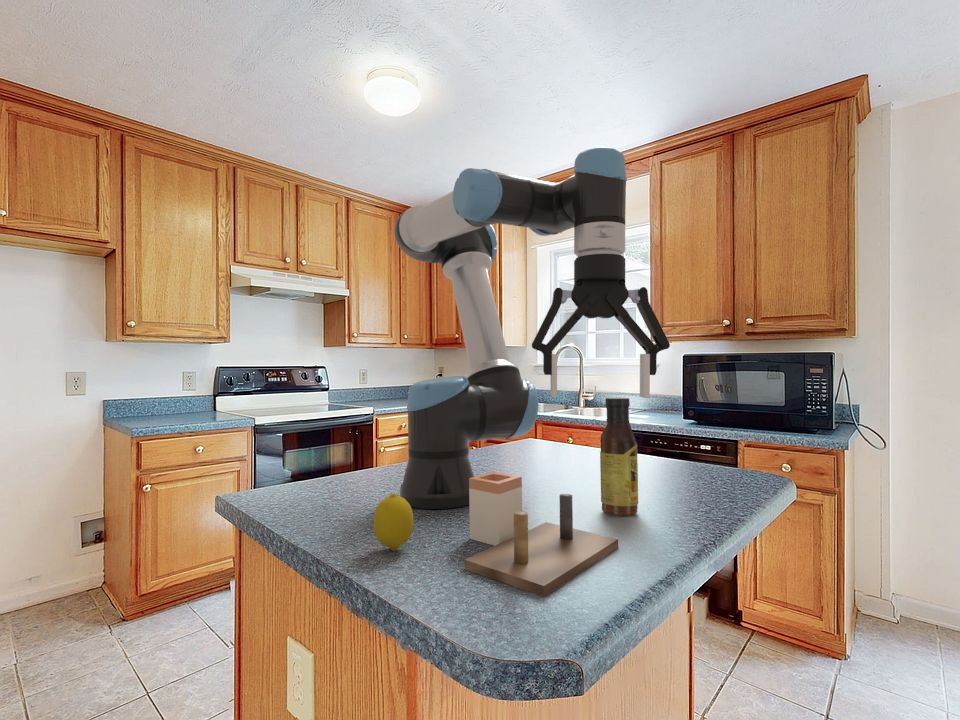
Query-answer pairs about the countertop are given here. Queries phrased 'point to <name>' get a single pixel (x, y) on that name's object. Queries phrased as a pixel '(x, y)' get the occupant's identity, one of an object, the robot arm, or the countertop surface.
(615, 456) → the sauce bottle
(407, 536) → the lemon
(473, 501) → the sleeve
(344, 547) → the countertop surface
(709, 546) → the countertop surface
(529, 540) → the pin board
